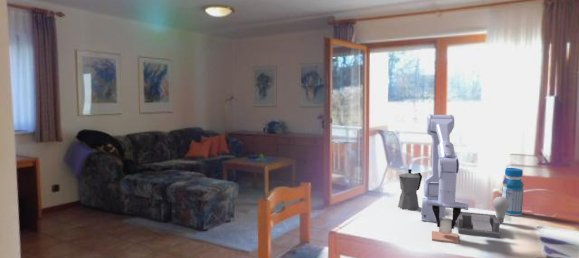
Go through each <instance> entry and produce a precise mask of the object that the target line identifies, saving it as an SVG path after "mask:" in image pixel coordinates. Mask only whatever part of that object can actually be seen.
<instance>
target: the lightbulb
mask: <svg viewBox="0 0 579 258" xmlns="http://www.w3.org/2000/svg"><path fill="white" fill-rule="evenodd" d="M492 206H493V208H494V210H495V216H496V217H497V219H498V221H499V223H500V224H502V223H504V221H505V220H504V219H505V218H506V217H505V216H506V214H505V213H506V211H507V210H508V208H509V206H510V204H509V201H508V200H507V199H506V198H505V197H502V195H500V196H496V197H495V198H494V199H493V201H492Z"/></svg>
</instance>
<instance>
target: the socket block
mask: <svg viewBox="0 0 579 258" xmlns="http://www.w3.org/2000/svg"><path fill="white" fill-rule="evenodd" d="M471 214H475V215H485V216H490V224H491V226H492V231H484V230H475V229H473V227H472V224H471ZM500 224H501V223H499V221H498V219H497V216H496V214H489V213H479V212H467V211H461V213H460V215H459V216H458V218H457V220H456V223H455V225H456V228H457V234H460V235H469V236H470V235H471V236H479V237H487V238H498V239H500V238H501V234H500Z"/></svg>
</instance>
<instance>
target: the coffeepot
mask: <svg viewBox="0 0 579 258" xmlns="http://www.w3.org/2000/svg"><path fill="white" fill-rule="evenodd" d="M407 171H408V172H406V173H405V172H404V173H400V174H399V175H398V177H399V185H400V186H399V188H400V190H401V193H400V195H399V200H398V205H397V207H398V208H399V207H400V208H399V209H401V208H402V209H401V210H404V209H408V210H407V211H416V209H417V210H418V209H419V207H420V206H419V205H420V204H419V198H418V194H417V191H419V190H420V187H421V183H422V181H423V179H422V178H423V175H422V174H421V172H416V173H412V169H411V168H408V169H407Z"/></svg>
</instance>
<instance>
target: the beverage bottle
mask: <svg viewBox="0 0 579 258" xmlns="http://www.w3.org/2000/svg"><path fill="white" fill-rule="evenodd" d="M523 171H524V170H523V169H521V168H516V167H507V168H505V169H504V175H505V178H504V179H503V181H502V189H501V193H502V195H501V197H505V198H506V199H507V200H508V201H509V204H510V206H509V208H508V210H507V211H506V213H505V216H506V215H507V216H513V217H517V216H518V217H519V216H522V215H523V202H524V201H523V199H524V193H525V190H524V185H525V184H524V182H523V180H522V178H523V174H524V173H523Z"/></svg>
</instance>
